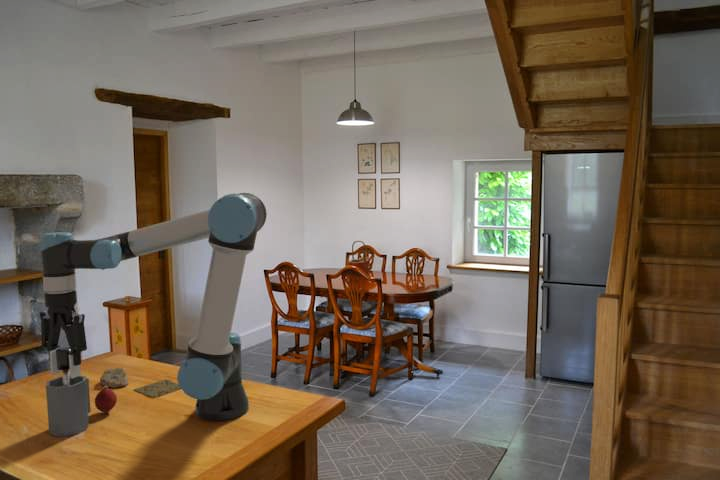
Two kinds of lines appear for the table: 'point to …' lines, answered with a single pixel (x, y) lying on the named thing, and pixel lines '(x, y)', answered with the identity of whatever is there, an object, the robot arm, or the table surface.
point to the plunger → (63, 363)
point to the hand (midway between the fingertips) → (65, 374)
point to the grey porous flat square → (158, 388)
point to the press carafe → (68, 406)
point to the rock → (114, 378)
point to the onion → (105, 400)
